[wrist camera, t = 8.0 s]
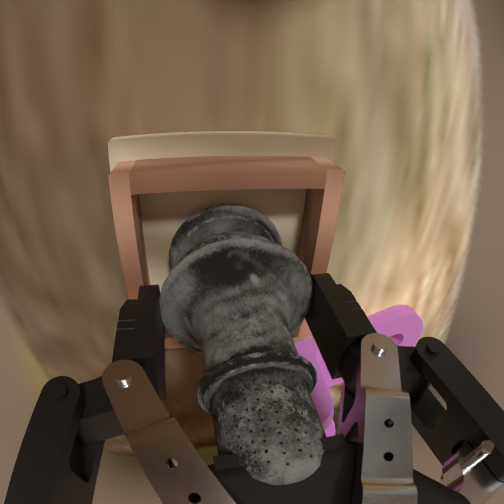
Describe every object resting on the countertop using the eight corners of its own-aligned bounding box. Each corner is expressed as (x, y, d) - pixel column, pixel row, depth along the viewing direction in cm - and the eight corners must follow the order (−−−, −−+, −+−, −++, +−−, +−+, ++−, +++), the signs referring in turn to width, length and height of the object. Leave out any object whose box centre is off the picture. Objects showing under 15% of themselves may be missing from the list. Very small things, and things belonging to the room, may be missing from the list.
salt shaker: (232, 321, 17) (287, 548, 7) (138, 268, 14) (122, 552, 4) (312, 245, 16) (447, 479, 6) (219, 170, 13) (329, 509, 3)
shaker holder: (112, 137, 13) (95, 154, 10) (327, 134, 15) (356, 150, 12) (140, 323, 19) (137, 360, 16) (300, 310, 20) (315, 344, 18)
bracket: (271, 391, 25) (293, 464, 19) (256, 353, 22) (279, 439, 16) (410, 338, 26) (449, 397, 20) (417, 293, 22) (467, 357, 17)
